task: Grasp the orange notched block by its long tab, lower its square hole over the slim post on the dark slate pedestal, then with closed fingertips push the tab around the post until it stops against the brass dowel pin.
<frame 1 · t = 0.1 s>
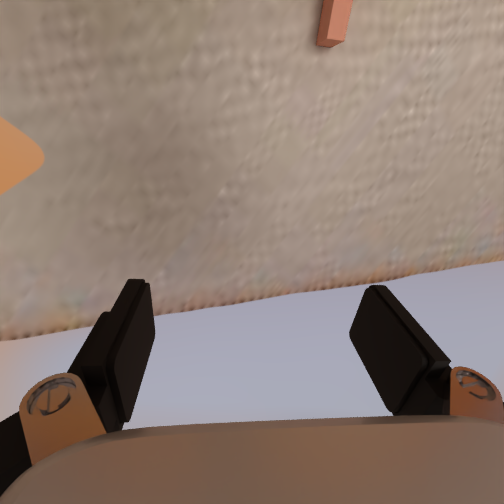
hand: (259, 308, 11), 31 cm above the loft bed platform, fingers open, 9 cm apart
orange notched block: (323, 46, 32), on the loft bed platform
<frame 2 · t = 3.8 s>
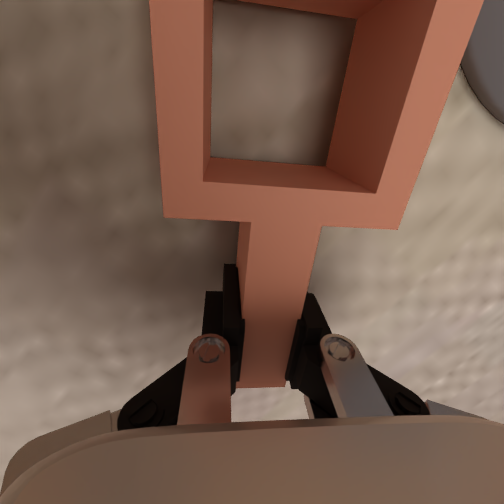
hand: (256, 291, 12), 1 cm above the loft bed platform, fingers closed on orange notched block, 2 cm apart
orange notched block: (251, 318, 14), point 1 cm above the loft bed platform, touching gripper
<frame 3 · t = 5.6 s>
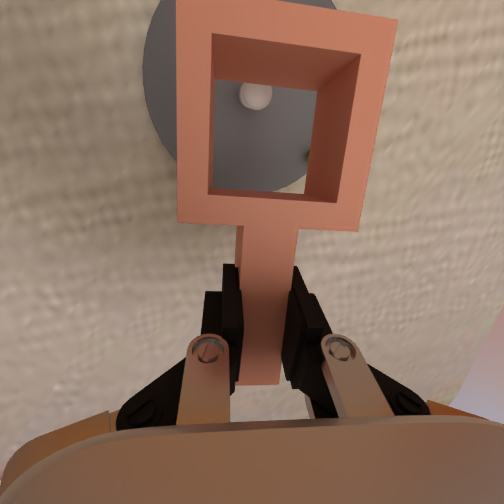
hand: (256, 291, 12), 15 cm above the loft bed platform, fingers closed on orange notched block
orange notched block: (247, 331, 15), point 14 cm above the loft bed platform, tilted 13°, touching gripper
post base: (249, 95, 21), on the loft bed platform
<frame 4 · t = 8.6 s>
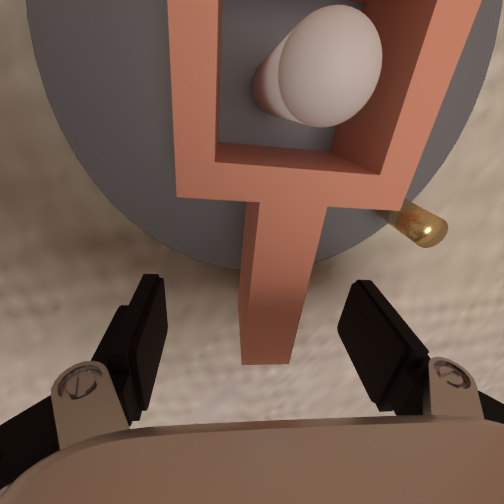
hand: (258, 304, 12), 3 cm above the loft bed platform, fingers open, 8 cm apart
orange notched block: (255, 301, 14), point 1 cm above the loft bed platform, touching post base
dowel pin: (379, 200, 13), resting on post base
post base: (272, 88, 10), on the loft bed platform
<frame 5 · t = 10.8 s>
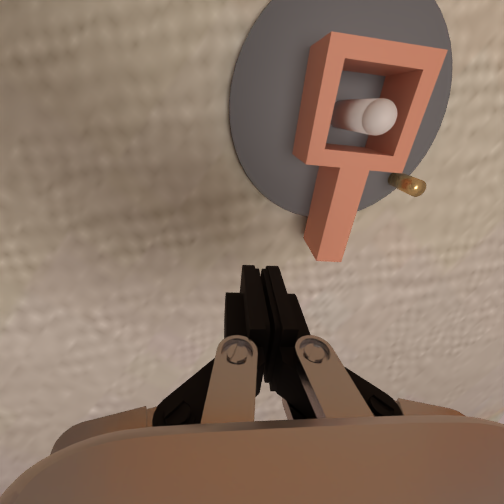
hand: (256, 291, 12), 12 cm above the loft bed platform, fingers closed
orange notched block: (314, 238, 24), point 1 cm above the loft bed platform, touching post base
dowel pin: (389, 176, 22), resting on post base
post base: (336, 113, 20), on the loft bed platform
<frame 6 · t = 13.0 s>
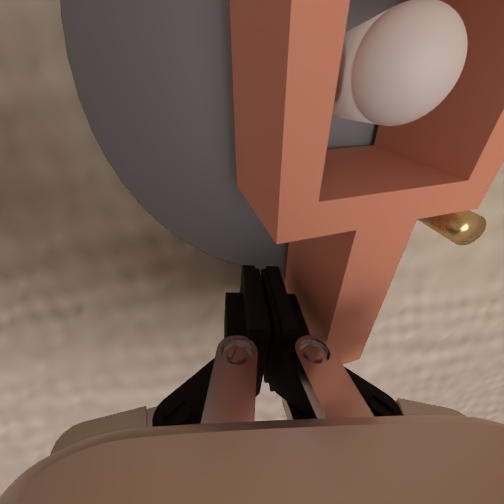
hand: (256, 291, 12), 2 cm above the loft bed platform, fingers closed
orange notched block: (299, 300, 14), point 1 cm above the loft bed platform, tilted 13°, touching gripper, post base
dowel pin: (406, 196, 13), resting on post base
post base: (304, 84, 10), on the loft bed platform
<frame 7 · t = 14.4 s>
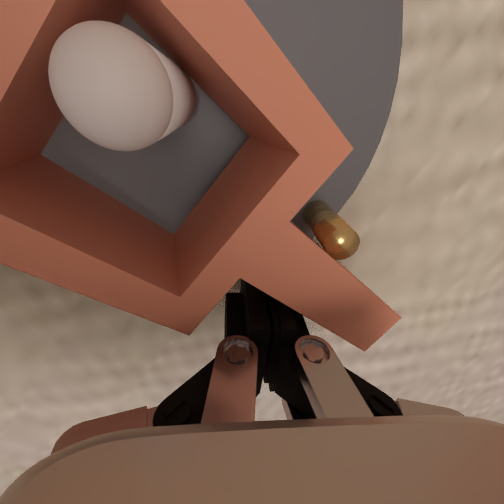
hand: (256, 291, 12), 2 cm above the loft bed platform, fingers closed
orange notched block: (329, 279, 14), point 1 cm above the loft bed platform, tilted 12°, touching dowel pin, gripper, post base
dowel pin: (311, 206, 12), resting on post base
post base: (176, 97, 10), on the loft bed platform
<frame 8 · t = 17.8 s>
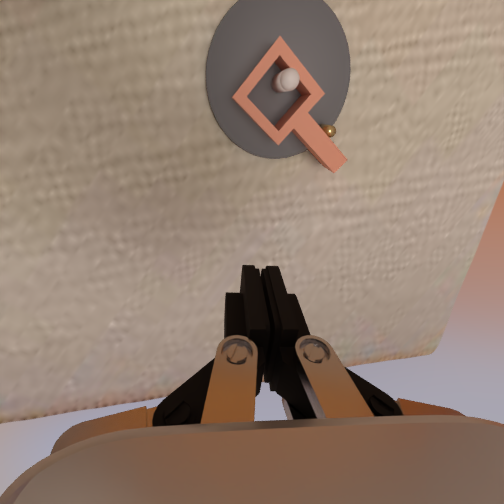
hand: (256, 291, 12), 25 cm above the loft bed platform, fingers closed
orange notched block: (328, 159, 34), point 1 cm above the loft bed platform, touching post base
dowel pin: (319, 128, 32), resting on post base
post base: (277, 83, 30), on the loft bed platform
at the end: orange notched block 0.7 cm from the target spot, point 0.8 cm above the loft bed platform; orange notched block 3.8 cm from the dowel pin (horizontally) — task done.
